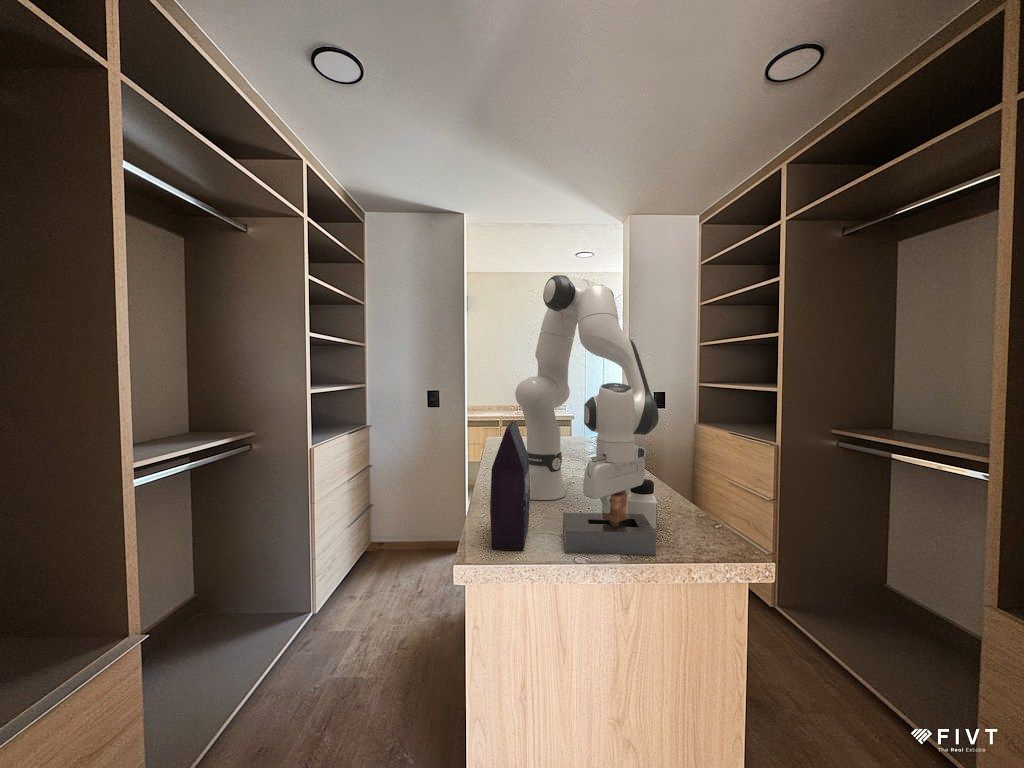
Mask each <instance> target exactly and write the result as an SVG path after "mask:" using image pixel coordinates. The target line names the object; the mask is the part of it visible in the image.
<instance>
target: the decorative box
mask: <svg viewBox="0 0 1024 768" xmlns="http://www.w3.org/2000/svg"><path fill="white" fill-rule="evenodd" d="M490 473H491V476H490V477H491V479H490V500H489V501H490V502H489V514H490V515H489V516H490V519H489V521H490V540H491V541H490V543H491V550H499V551H500V550H501V551H519V552H520V551H522V552H523V551H524V549H525V545H526V541H527V535H528V530H529V524H530V523H529V522H530V521H529V520H530V519H529V518H530V506H531V504H530V502H531V501H530V477H529V457H528V454H527V447H526V444H525V443H524V440H523V437H522V434H521V431H520V429H519V425H518V423H517V421H516V420H515V421H514V420H512V421H511V422H510V423H509V424H508V425H507V427H506V428H505V431H504V433H503V436H502V439H501V442H500V444H499V447H498V450H497V452H496V455H495V458H494V461H493V464H492V467H491V472H490Z"/></svg>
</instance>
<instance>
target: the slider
mask: <svg viewBox="0 0 1024 768" xmlns="http://www.w3.org/2000/svg"><path fill="white" fill-rule="evenodd" d="M609 501H610V504H611V505H613V512H611V513H608V514H607V513H604V512H603V511H602V513H603V519H606V520H609V521H610V524H611V525H612V526H613V527H619V522H621V521H623V520H626V519H627V494H625V493H621V492H618V493H615V494H612V495H611V499H609Z"/></svg>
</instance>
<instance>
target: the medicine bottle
mask: <svg viewBox="0 0 1024 768" xmlns="http://www.w3.org/2000/svg"><path fill="white" fill-rule="evenodd" d="M627 514H643V515H644V516H645V518H646V519H647V520H648V522H649V523H650V525H651V526H652V528H653V529H654V530H657V528H658V501H657V499H656V497H655V482H654V481H653V480H651V479H649V478H645V477H644V481H643V484H642V485H640V486H637V487H634V488H631V489H629V495H628V497H627Z"/></svg>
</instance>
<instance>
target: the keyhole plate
mask: <svg viewBox="0 0 1024 768" xmlns="http://www.w3.org/2000/svg"><path fill="white" fill-rule="evenodd" d="M655 530H656V529H653V528H652V526H651V525H650V523H649V522H648V520H647V519H646V518H645V516H644V515H643V514H627V519H626V520H623V521H621V522H619V527H613V526H612V525H611V524H610V521H609V520H606V519H603V512H601V513H598V512H597V513H595V512H566V511H565V512H562V535H563V542H564V551H565V553H566V554H568V553H569V554H594V555H595V554H597V555H599V554H600V555H627V554H629V555H630V556H631V555H632V556H634V555H636V556H637V555H638V556H657V532H656V531H655Z"/></svg>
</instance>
